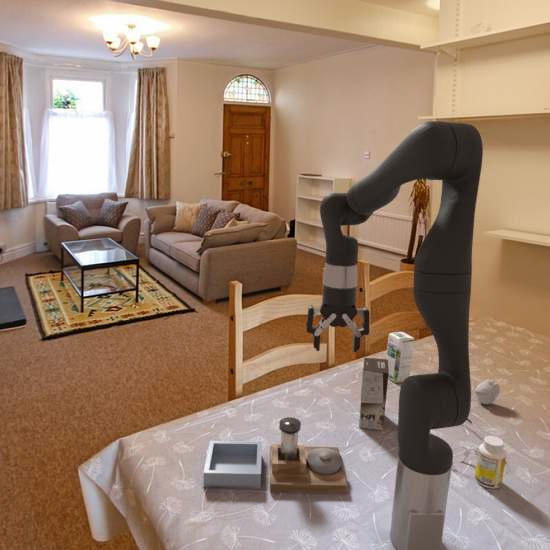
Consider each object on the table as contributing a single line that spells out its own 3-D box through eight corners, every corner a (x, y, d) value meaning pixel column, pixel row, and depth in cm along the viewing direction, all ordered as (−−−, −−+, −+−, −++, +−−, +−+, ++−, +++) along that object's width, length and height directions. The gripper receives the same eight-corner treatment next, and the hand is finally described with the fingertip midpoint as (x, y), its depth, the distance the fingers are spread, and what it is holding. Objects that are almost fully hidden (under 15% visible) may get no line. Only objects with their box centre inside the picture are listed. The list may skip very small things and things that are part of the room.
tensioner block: (346, 493, 109) (347, 474, 108) (270, 492, 109) (270, 473, 108) (337, 454, 123) (339, 437, 121) (270, 453, 122) (270, 435, 121)
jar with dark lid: (299, 470, 113) (301, 428, 110) (278, 470, 113) (279, 428, 110) (298, 458, 117) (300, 417, 115) (277, 457, 117) (279, 417, 115)
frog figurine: (502, 406, 148) (506, 383, 146) (483, 410, 146) (486, 387, 144) (487, 396, 154) (490, 374, 152) (468, 400, 151) (471, 378, 149)
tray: (260, 488, 110) (260, 474, 109) (203, 487, 110) (203, 472, 109) (261, 455, 121) (261, 441, 120) (209, 454, 121) (209, 440, 120)
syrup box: (383, 376, 165) (387, 333, 161) (398, 373, 167) (403, 330, 164) (394, 383, 160) (399, 339, 156) (410, 380, 162) (414, 337, 159)
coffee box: (383, 431, 133) (389, 373, 129) (358, 427, 135) (362, 370, 130) (383, 413, 142) (388, 358, 138) (359, 410, 143) (364, 356, 139)
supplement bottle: (493, 473, 117) (499, 433, 115) (506, 489, 112) (513, 447, 109) (469, 474, 117) (475, 433, 114) (481, 490, 111) (488, 448, 109)
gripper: (309, 286, 113) (306, 355, 117) (374, 288, 113) (369, 357, 117) (307, 277, 120) (304, 343, 124) (369, 279, 120) (364, 345, 124)
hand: (336, 350), depth 120 cm, fingers open, 8 cm apart
